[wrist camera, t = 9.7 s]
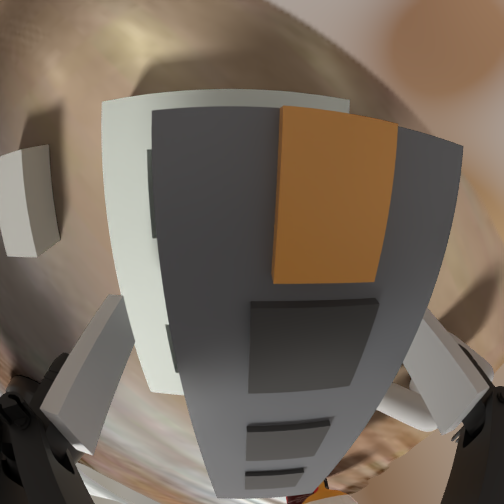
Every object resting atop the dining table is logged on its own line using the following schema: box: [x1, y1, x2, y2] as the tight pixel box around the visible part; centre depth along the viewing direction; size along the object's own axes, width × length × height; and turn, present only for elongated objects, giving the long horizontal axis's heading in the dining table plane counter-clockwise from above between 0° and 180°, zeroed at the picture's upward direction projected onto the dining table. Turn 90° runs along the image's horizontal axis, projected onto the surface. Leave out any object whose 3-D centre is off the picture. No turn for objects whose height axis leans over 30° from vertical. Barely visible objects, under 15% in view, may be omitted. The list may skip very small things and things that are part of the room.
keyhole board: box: [102, 89, 350, 395], centre depth 16 cm, size 12×20×3 cm, turn 178°
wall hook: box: [376, 332, 494, 431], centre depth 19 cm, size 8×10×10 cm
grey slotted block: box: [151, 105, 463, 499], centre depth 11 cm, size 5×16×12 cm, turn 178°
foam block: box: [0, 144, 60, 258], centre depth 13 cm, size 4×7×3 cm, turn 178°
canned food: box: [286, 478, 329, 504], centre depth 31 cm, size 8×8×11 cm
